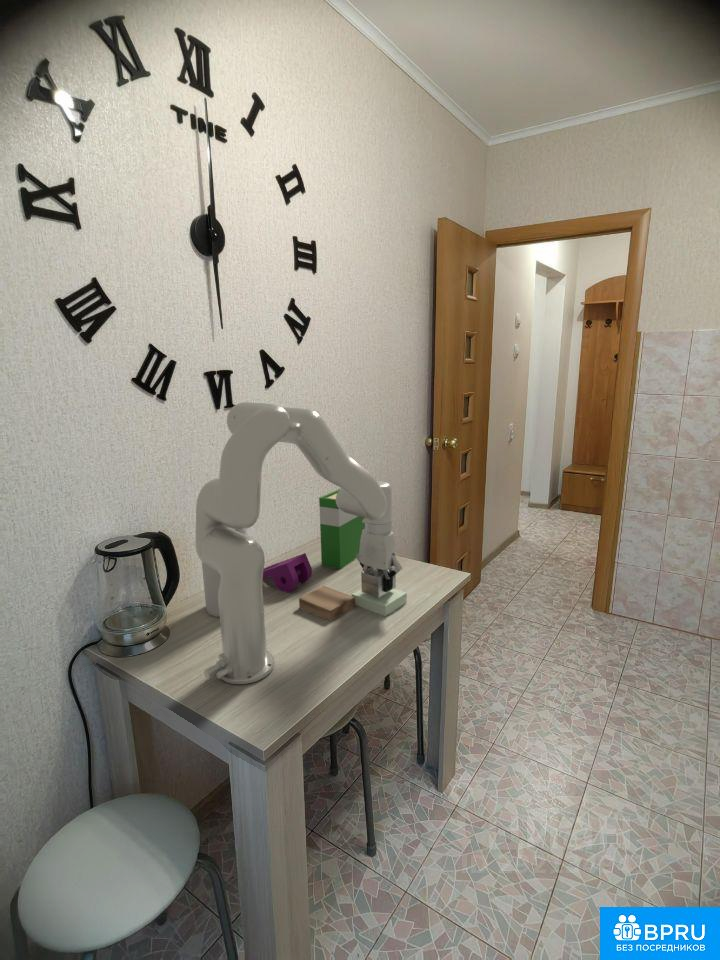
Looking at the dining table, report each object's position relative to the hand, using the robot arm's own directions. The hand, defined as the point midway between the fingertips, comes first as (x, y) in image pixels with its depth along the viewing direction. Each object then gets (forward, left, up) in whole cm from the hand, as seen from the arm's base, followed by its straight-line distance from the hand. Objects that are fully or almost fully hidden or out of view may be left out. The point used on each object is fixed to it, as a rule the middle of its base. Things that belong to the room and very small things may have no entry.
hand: (378, 586), depth 139 cm
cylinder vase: (-28, +32, -5) cm, 43 cm away
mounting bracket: (-8, +33, -6) cm, 35 cm away
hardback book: (+19, +30, -5) cm, 36 cm away
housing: (0, 0, -1) cm, 1 cm away
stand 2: (0, 0, -5) cm, 5 cm away
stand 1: (-11, +10, -5) cm, 16 cm away
